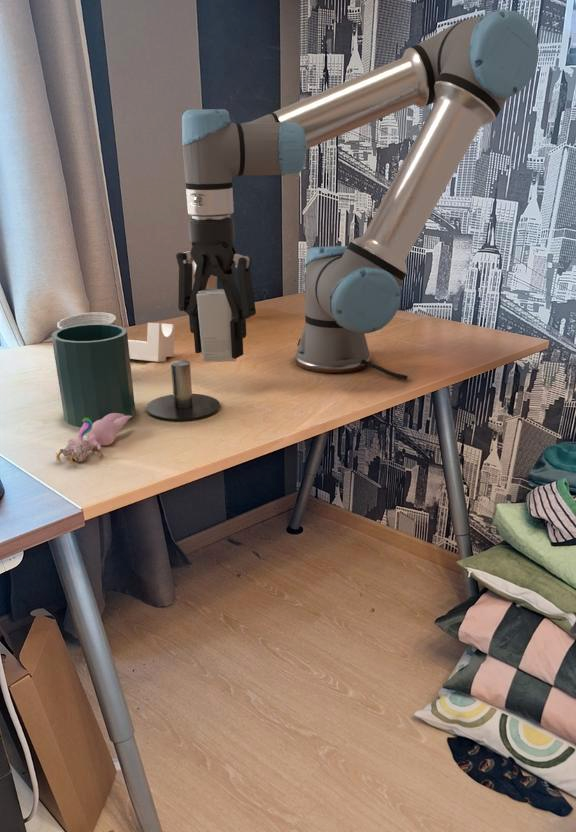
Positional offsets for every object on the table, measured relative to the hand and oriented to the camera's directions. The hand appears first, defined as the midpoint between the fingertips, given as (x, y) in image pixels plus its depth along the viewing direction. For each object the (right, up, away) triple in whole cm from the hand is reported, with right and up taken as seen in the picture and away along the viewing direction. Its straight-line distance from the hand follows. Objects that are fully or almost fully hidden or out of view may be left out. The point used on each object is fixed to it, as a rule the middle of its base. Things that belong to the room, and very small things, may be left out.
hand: (219, 353), depth 129 cm
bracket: (-19, +4, +24) cm, 31 cm away
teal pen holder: (-19, -13, -8) cm, 24 cm away
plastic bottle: (-8, +19, +51) cm, 55 cm away
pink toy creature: (-17, -19, -19) cm, 32 cm away
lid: (-6, -11, -5) cm, 13 cm away
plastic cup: (-25, -3, +10) cm, 27 cm away
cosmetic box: (0, -1, +1) cm, 1 cm away
